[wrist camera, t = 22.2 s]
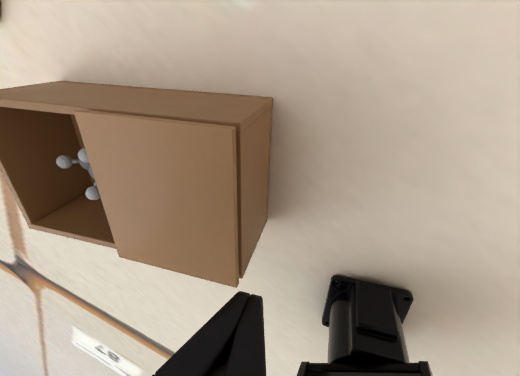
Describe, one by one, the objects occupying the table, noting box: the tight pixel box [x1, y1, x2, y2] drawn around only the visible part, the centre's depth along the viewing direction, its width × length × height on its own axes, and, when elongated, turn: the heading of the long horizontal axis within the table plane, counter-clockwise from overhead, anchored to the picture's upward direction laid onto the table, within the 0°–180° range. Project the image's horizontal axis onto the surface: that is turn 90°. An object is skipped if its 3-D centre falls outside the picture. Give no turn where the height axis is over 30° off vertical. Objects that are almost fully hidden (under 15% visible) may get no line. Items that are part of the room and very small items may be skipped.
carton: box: [0, 81, 273, 278], centre depth 19 cm, size 18×10×6 cm, turn 88°
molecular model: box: [56, 148, 100, 200], centre depth 20 cm, size 14×4×5 cm, turn 86°
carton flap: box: [74, 109, 239, 288], centre depth 15 cm, size 9×10×1 cm
